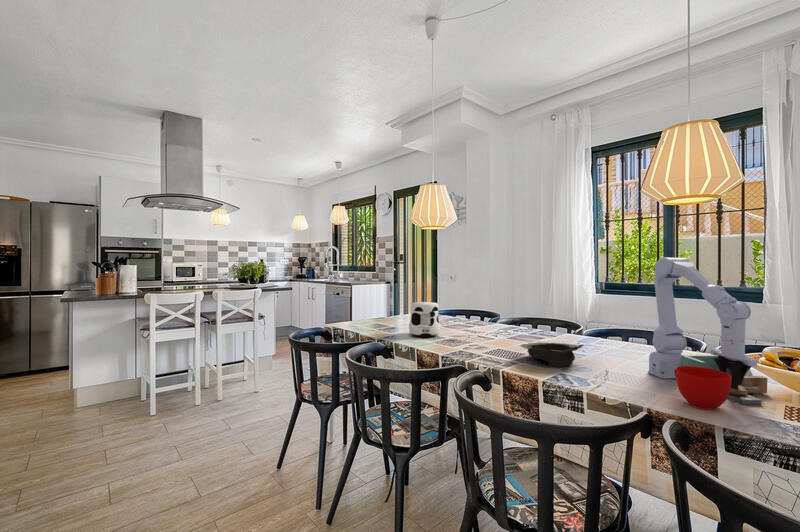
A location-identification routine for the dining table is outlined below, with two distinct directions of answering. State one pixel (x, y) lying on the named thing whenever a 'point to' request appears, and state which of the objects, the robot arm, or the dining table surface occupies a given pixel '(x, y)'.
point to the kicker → (749, 384)
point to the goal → (700, 361)
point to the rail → (744, 399)
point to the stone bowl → (553, 352)
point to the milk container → (424, 319)
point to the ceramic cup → (703, 386)
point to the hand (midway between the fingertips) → (731, 382)
